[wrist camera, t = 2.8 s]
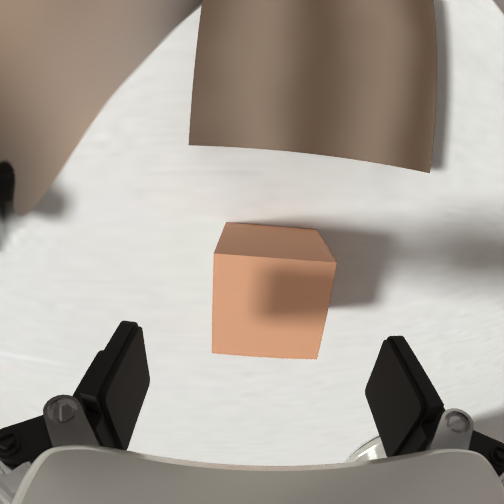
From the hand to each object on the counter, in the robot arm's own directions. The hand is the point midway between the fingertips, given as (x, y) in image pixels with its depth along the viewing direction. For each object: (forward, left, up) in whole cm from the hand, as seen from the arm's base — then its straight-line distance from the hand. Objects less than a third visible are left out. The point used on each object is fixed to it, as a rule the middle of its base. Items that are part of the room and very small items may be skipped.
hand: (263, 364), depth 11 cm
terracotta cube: (0, +1, -11) cm, 11 cm away
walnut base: (-2, -14, -11) cm, 18 cm away
